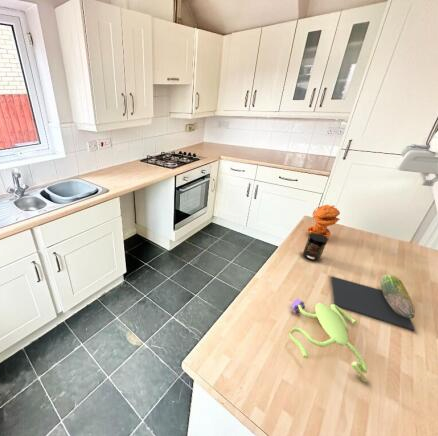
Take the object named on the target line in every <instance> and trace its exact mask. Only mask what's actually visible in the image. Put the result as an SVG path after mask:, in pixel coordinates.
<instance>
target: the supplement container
mask: <svg viewBox="0 0 438 436" xmlns="http://www.w3.org/2000/svg"><path fill="white" fill-rule="evenodd" d="M328 241H329V239H327V237H325V236H323V235H321V234H317V233H309V235H308V237H307V241H306V243H305V246H304V249H303V252H302V256H303V258H304V259H306V260H307V261H310V262H318V261H320V260H321V258H322V256H323V254H324V250H325V248H326V246H327V244H328Z"/></svg>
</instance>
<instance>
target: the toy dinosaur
mask: <svg viewBox="0 0 438 436" xmlns="http://www.w3.org/2000/svg"><path fill="white" fill-rule="evenodd" d="M340 214H341V212H340V210H339V209H338V208H337V207H336V205H335V204H332V205H330V204H324V205H321V206H318V207H316V208H315V209H314V210H313V211H312V215H311V216H312V219H314V222H315V223H314V225H311V226H308V227H307V231H306V233H309V234H311V233H317V234H321V235H323V236H325V237H327V239H328V240H329V239H330V236H331V231H330V229H329V228H328V227H330V226H333V225H336V224H337V223H338V221H340V220H341V218H339V216H340Z"/></svg>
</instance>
